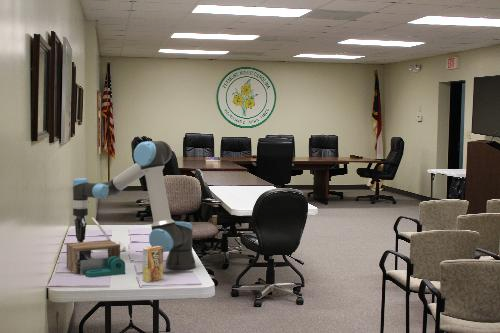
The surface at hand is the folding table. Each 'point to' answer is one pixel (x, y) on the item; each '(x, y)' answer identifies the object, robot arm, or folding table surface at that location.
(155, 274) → the candy box
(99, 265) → the dark grey block
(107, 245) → the tunnel
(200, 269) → the folding table surface
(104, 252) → the tablet stand
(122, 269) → the bracket
